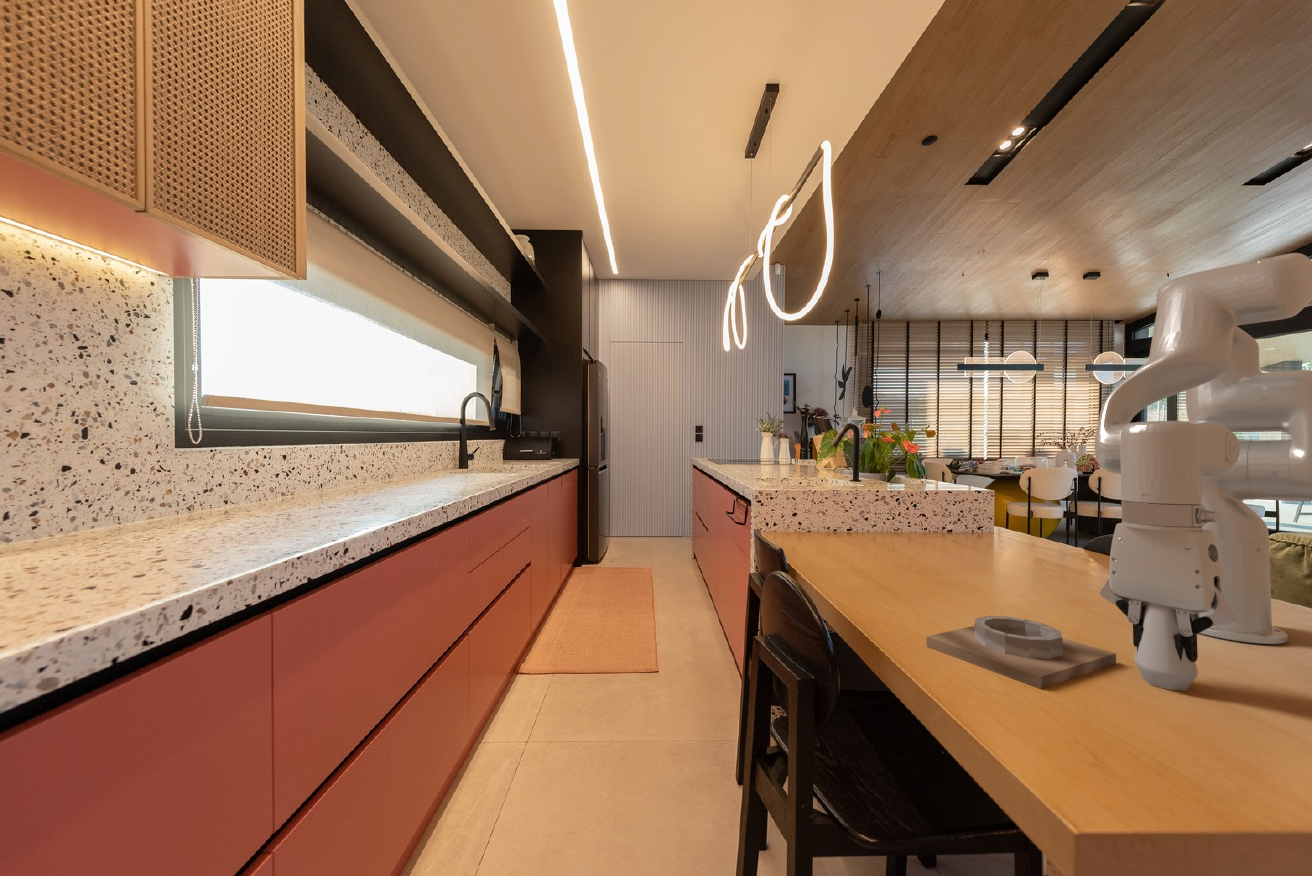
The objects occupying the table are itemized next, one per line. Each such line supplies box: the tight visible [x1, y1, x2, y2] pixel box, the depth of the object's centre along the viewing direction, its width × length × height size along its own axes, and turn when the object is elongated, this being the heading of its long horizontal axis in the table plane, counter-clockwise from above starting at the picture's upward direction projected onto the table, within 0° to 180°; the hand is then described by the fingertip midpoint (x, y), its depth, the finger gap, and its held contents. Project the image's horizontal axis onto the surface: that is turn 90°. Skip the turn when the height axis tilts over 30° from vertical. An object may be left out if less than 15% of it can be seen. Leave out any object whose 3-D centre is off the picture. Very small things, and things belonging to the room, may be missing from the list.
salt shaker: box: [1134, 603, 1199, 692], centre depth 67 cm, size 6×6×13 cm
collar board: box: [926, 615, 1117, 690], centre depth 76 cm, size 18×16×4 cm
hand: (1164, 658), depth 67 cm, fingers closed on salt shaker, 3 cm apart
